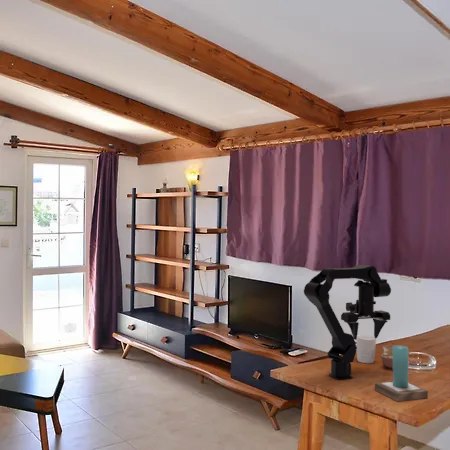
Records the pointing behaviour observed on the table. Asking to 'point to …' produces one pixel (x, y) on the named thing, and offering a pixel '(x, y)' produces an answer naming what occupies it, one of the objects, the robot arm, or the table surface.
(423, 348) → the table surface
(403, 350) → the teal cylinder
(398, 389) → the picture frame
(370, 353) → the white cup
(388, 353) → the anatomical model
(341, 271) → the robot arm
